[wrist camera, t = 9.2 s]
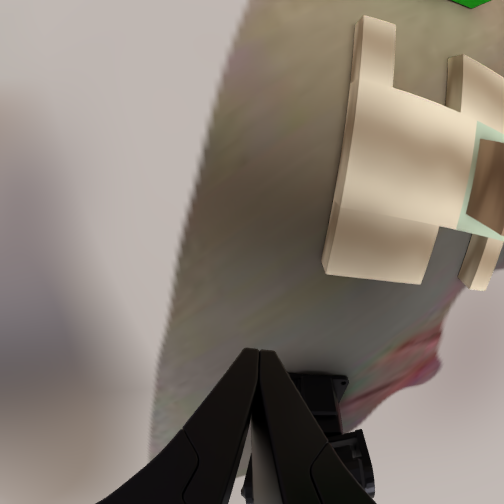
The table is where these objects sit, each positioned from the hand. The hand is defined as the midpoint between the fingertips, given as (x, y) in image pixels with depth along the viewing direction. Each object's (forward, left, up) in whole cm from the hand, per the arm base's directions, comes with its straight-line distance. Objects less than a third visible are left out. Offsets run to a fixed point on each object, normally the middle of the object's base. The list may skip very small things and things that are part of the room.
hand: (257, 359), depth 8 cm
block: (+6, -16, -10) cm, 19 cm away
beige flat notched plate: (+6, -11, -12) cm, 17 cm away
